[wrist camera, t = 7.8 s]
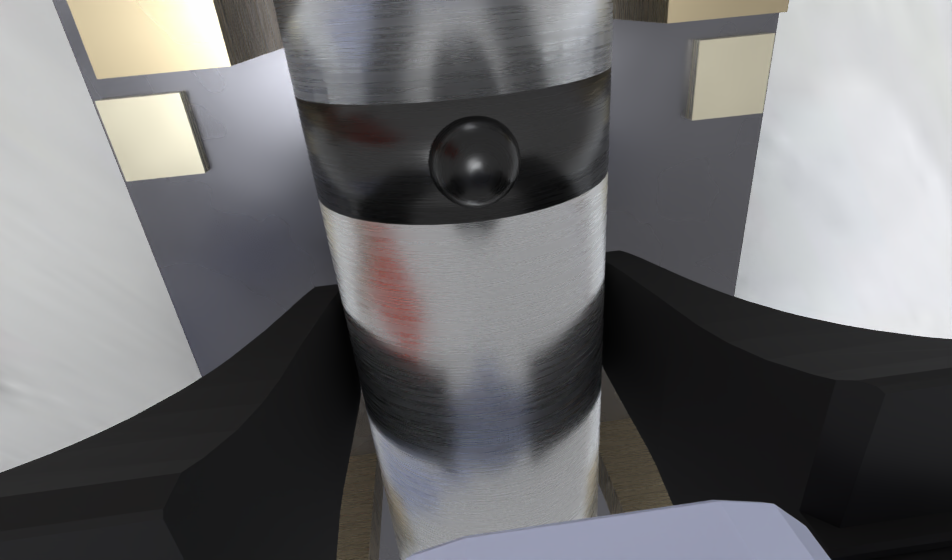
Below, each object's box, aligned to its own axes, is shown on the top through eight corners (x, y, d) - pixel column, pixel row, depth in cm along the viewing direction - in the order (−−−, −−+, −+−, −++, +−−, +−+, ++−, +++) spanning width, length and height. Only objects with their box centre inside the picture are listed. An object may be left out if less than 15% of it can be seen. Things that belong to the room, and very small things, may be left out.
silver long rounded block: (566, 528, 18) (627, 723, 13) (416, 553, 18) (422, 762, 13) (560, -300, 9) (759, -682, 4) (245, -283, 8) (27, -678, 4)
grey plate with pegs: (683, 507, 20) (752, 636, 16) (293, 565, 19) (261, 716, 15) (803, -363, 9) (1092, -631, 5) (-34, -311, 9) (-418, -580, 5)
